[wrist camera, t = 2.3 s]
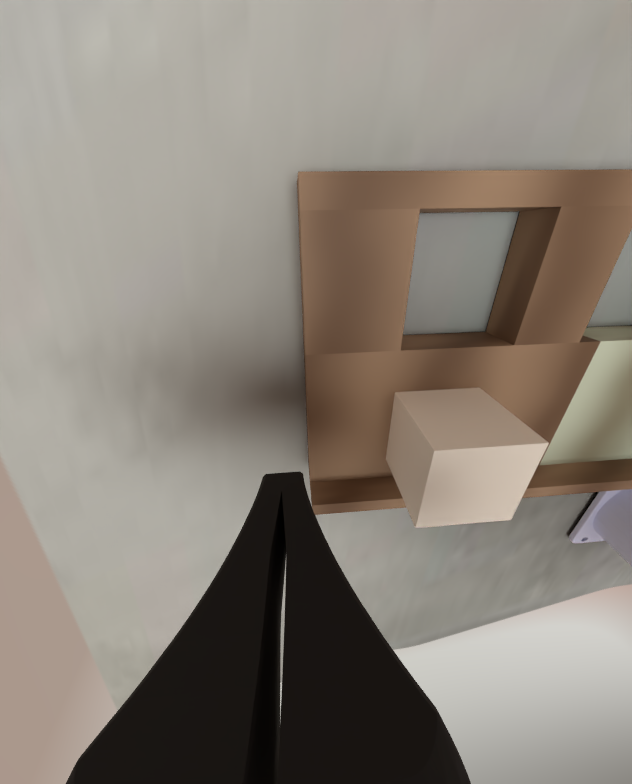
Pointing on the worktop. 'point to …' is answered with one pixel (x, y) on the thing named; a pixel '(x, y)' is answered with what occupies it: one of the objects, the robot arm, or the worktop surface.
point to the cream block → (460, 456)
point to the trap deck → (464, 350)
